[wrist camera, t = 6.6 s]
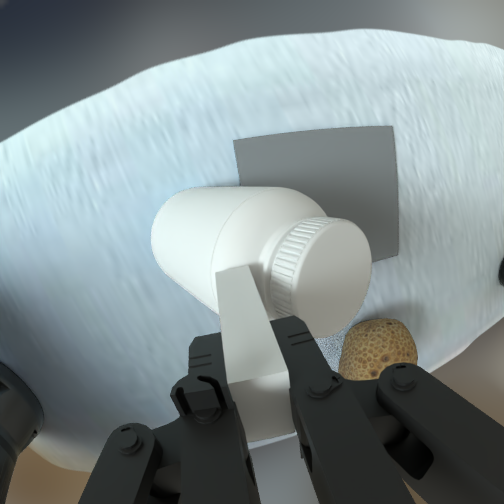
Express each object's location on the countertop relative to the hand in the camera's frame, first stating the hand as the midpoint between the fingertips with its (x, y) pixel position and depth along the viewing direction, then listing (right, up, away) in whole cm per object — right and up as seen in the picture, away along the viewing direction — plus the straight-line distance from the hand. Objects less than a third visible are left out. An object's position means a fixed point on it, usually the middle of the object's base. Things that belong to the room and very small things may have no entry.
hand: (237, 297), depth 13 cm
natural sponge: (+13, -8, +21) cm, 26 cm away
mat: (+8, +7, +14) cm, 18 cm away
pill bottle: (-4, +3, +12) cm, 13 cm away
